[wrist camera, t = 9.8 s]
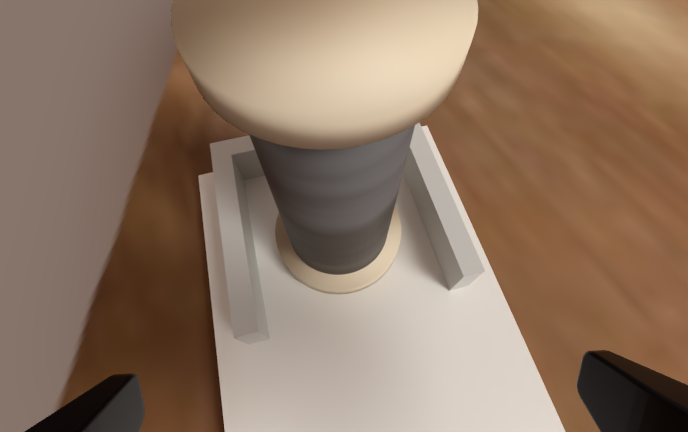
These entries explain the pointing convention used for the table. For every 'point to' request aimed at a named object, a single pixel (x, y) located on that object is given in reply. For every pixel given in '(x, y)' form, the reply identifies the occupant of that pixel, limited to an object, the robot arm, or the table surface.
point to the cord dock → (364, 319)
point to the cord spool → (328, 112)
